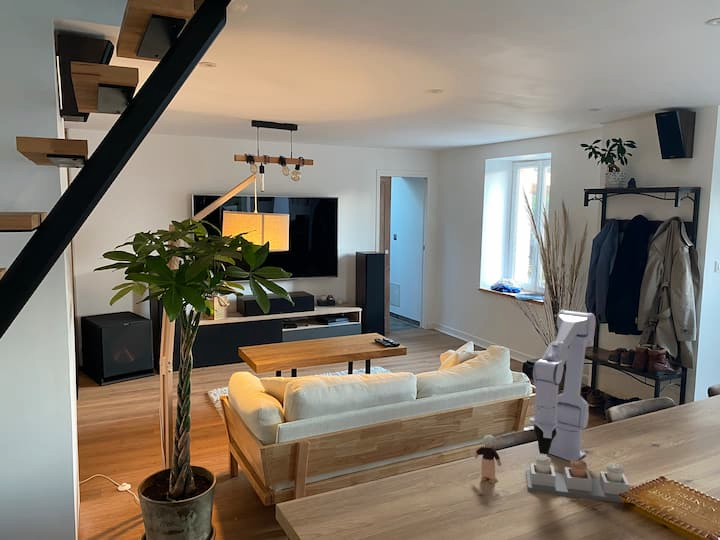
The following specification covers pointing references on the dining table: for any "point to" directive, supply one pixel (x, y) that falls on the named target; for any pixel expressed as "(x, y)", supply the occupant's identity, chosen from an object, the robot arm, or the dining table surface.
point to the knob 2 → (614, 472)
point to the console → (576, 484)
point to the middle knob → (578, 468)
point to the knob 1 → (543, 464)
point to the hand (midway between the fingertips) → (543, 452)
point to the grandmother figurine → (488, 459)
